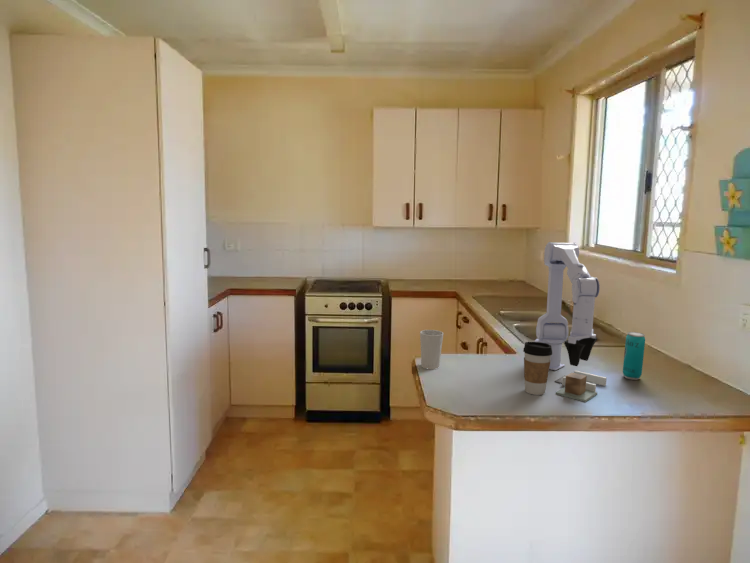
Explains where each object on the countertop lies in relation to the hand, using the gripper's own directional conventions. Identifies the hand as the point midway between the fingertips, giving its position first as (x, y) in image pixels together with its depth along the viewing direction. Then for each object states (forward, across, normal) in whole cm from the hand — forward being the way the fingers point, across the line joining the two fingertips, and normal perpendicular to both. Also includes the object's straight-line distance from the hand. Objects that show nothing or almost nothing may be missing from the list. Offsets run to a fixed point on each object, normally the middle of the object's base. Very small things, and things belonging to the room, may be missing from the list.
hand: (579, 362), depth 161 cm
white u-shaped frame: (+10, +10, +3) cm, 14 cm away
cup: (+10, -10, +47) cm, 49 cm away
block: (+9, 0, 0) cm, 9 cm away
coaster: (+10, 0, 0) cm, 10 cm away
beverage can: (+10, +29, -7) cm, 31 cm away
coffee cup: (+10, -7, +10) cm, 16 cm away
